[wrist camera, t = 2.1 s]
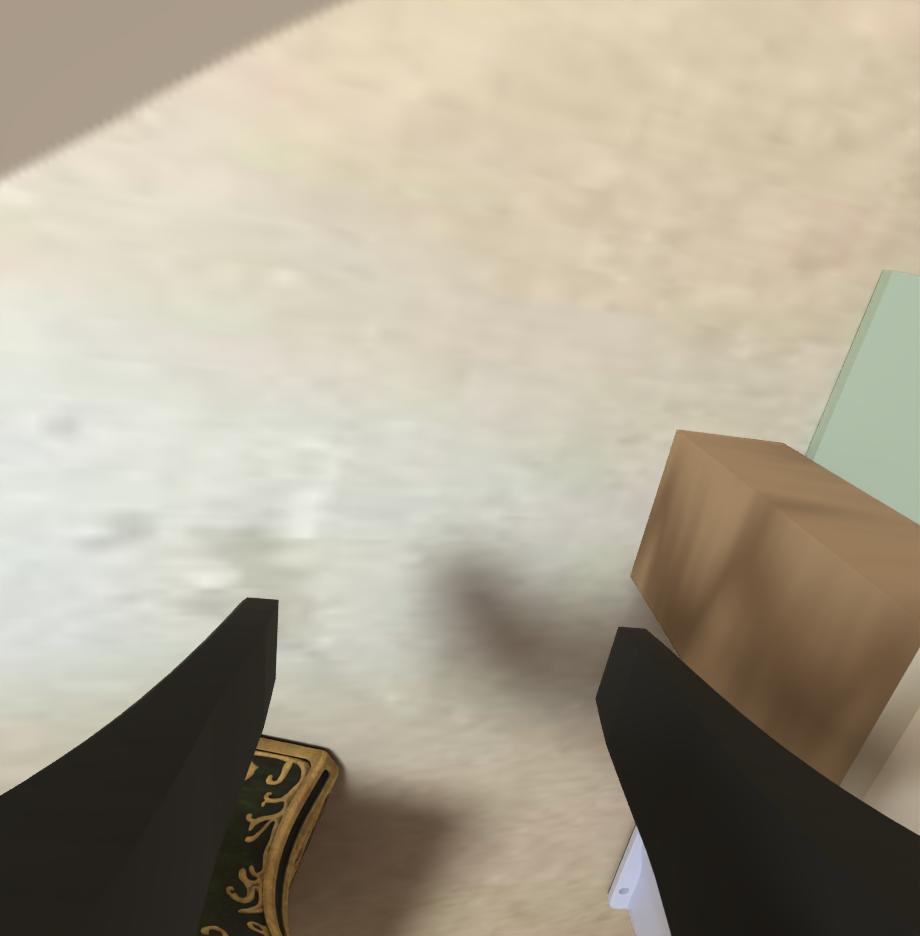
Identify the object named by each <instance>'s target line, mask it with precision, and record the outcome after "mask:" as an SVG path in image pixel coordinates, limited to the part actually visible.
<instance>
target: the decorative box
mask: <svg viewBox="0 0 920 936" xmlns="http://www.w3.org/2000/svg"><path fill="white" fill-rule="evenodd" d="M338 771H339V768H338V766H337V765H336V763H335V762H334V761H333V760H332V758H331V757H330V756H329V754H328V753H327V752H326V751H323V750H319V749H314V748H309V747H304V746H300V745H295V744H290V743H285V742H280V741H275V740H271V739H266V738H261V737H260V739H259V742H258V745H257V748H256V751H255V753H254V756H253V759H252V762H251V765H250V767H249V770H248V773H247V776H246V778H245V781H244V784H243V786H242V789H241V792H240V795H239V797H238V800H237V803H236V806H235V808H234V811H233V814H232V817H231V819H230V822H229V825H228V828H227V830H226V833H225V836H224V839H223V841H222V844H221V848H220V851H219V854H218V857H217V860H216V863H215V866H214V869H213V873H212V877H211V880H210V884H209V888H208V892H207V895H206V899H205V903H204V907H203V910H202V914H201V918H200V921H199V925H198V929H197V933H196V936H290V932H289V927H288V918H287V901H288V892H289V890H290V887H291V885H292V883H293V880H294V878H295V875H296V873H297V871H298V868H299V866H300V864H301V861H302V859H303V857H304V854H305V852H306V850H307V847H308V845H309V843H310V840H311V838H312V835H313V833H314V831H315V828H316V826H317V824H318V821H319V819H320V817H321V814H322V812H323V810H324V807H325V805H326V803H327V800H328V798H329V795H330V793H331V791H332V788H333V786H334V784H335V781H336V779H337V777H338Z"/></svg>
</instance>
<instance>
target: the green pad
mask: <svg viewBox="0 0 920 936" xmlns="http://www.w3.org/2000/svg"><path fill="white" fill-rule="evenodd" d="M806 457H807V458H809V459H811V460H812V461H814V462H816V463H817V464H819V465H821V466H822V467H824V468H826V469H827V470H829V471H831V472H832V473H834V474H836V475H837V476H839V477H841V478H842V479H844V480H846V481H847V482H849V483H851V484H852V485H854V486H856V487H857V488H859V489H861V490H862V491H864V492H866V493H867V494H869V495H870V496H872V497H874V498H875V499H877V500H879V501H880V502H882V503H884V504H885V505H887V506H889V507H890V508H892V509H894V510H895V511H897V512H899V513H900V514H902V515H904V516H905V517H907V518H909V519H910V520H912V521H914V522H915V523H917V524H919V525H920V276H919V275H913V274H907V273H902V272H896V271H888V270H883V272H882V275H881V277H880V279H879V282H878V284H877V287H876V289H875V291H874V294H873V296H872V298H871V301H870V303H869V306H868V308H867V310H866V313H865V315H864V318H863V320H862V322H861V325H860V327H859V330H858V332H857V334H856V337H855V339H854V342H853V344H852V346H851V349H850V351H849V354H848V356H847V358H846V361H845V363H844V366H843V368H842V370H841V373H840V375H839V378H838V380H837V382H836V385H835V387H834V390H833V392H832V394H831V397H830V399H829V402H828V404H827V406H826V409H825V411H824V414H823V416H822V418H821V421H820V423H819V426H818V428H817V430H816V433H815V435H814V438H813V440H812V442H811V445H810V447H809V450H808V452H807V454H806Z"/></svg>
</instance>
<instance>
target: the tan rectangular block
mask: <svg viewBox="0 0 920 936" xmlns="http://www.w3.org/2000/svg"><path fill="white" fill-rule="evenodd" d="M631 578H632V580H633V581H634V583H635V584H636V586H637V588H638V589H639V591H640V593H641V594H642V596H643V598H644V599H645V601H646V602H647V604H648V606H649V607H650V609H651V611H652V612H653V614H654V615H655V617H656V619H657V620H658V622H659V624H660V625H661V627H662V629H663V630H664V632H665V633H666V635H667V637H668V638H669V640H670V642H671V643H672V645H673V646H674V648H675V650H676V651H677V653H678V655H679V656H680V658H681V660H682V661H683V662H684V663H685V664H686V665H687V666H688V667H689V668H691V669H692V670H693V671H694V672H695V673H696V674H697V675H698V676H699V677H701V678H702V679H703V680H704V681H705V682H706V683H707V684H708V685H709V686H711V687H712V688H713V689H714V690H715V691H716V692H717V693H719V694H720V695H721V696H722V697H723V698H724V699H725V700H727V701H728V702H729V703H730V704H731V705H732V706H734V707H735V708H736V709H737V710H738V711H740V712H741V713H742V714H743V715H744V716H745V717H747V718H748V719H749V720H750V721H752V722H753V723H754V724H755V725H757V726H758V727H759V728H760V729H762V730H763V731H764V732H765V733H767V734H768V735H769V736H770V737H771V738H773V739H774V740H775V741H777V742H778V743H779V744H781V745H782V746H783V747H785V748H786V749H787V750H789V751H790V752H791V753H793V754H794V755H795V756H797V757H798V758H800V759H801V760H802V761H804V762H805V763H807V764H808V765H809V766H811V767H812V768H814V769H815V770H816V771H818V772H819V773H821V774H822V775H823V776H825V777H826V778H828V779H829V780H831V781H832V782H834V783H835V784H837V785H838V786H840V787H841V788H843V789H844V790H846V791H847V792H849V793H850V794H852V795H854V796H855V797H857V798H858V799H860V800H862V801H863V802H865V803H866V804H868V805H869V806H871V807H873V808H874V809H876V810H877V811H879V812H881V813H882V814H884V815H885V816H887V817H889V818H890V819H892V820H894V821H895V822H897V823H899V824H901V825H902V826H904V827H906V828H907V829H909V830H911V831H913V832H914V833H916V834H918V835H920V525H919V524H917V523H915V522H914V521H912V520H910V519H909V518H907V517H905V516H904V515H902V514H900V513H899V512H897V511H895V510H894V509H892V508H890V507H889V506H887V505H885V504H884V503H882V502H880V501H879V500H877V499H875V498H874V497H872V496H870V495H869V494H867V493H866V492H864V491H862V490H861V489H859V488H857V487H856V486H854V485H852V484H851V483H849V482H847V481H846V480H844V479H842V478H841V477H839V476H837V475H836V474H834V473H832V472H831V471H829V470H827V469H826V468H824V467H822V466H821V465H819V464H817V463H816V462H814V461H812V460H811V459H809V458H807V457H806V456H804V455H802V454H801V453H799V452H797V451H796V450H794V449H792V448H791V447H789V446H787V445H786V444H784V443H778V442H771V441H763V440H755V439H747V438H739V437H732V436H724V435H716V434H708V433H700V432H692V431H685V430H677V431H676V434H675V437H674V441H673V444H672V447H671V450H670V453H669V456H668V459H667V463H666V466H665V469H664V472H663V475H662V478H661V481H660V485H659V488H658V491H657V494H656V497H655V500H654V504H653V507H652V510H651V513H650V516H649V519H648V522H647V526H646V529H645V532H644V535H643V538H642V541H641V544H640V548H639V551H638V554H637V557H636V560H635V563H634V567H633V570H632V573H631Z"/></svg>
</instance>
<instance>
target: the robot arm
mask: <svg viewBox="0 0 920 936" xmlns="http://www.w3.org/2000/svg"><path fill="white" fill-rule="evenodd" d="M278 601H279V600H273V599H261V598H248V597H247V598H246V599H245V600H243V601H242V602H241V603H240V604H239V605H238V606H237V607H236V608H235V609H234V610H233V612H232V613H231V614H230V615H229V616H228V617H227V618H226V619H225V620H224V621H223V622H222V623H221V624H220V625H219V626H218V627H217V628H216V629H215V630H214V631H213V632H212V633H211V634H210V635H209V637H208V638H207V639H206V640H205V641H204V642H203V643H201V644H200V645H199V646H198V647H197V648H196V649H195V650H194V651H193V652H192V653H191V654H190V655H189V656H188V657H187V658H186V659H185V660H184V661H183V662H182V663H180V664H179V665H178V666H177V667H176V668H175V669H174V670H173V671H172V672H171V673H170V674H168V675H167V676H166V677H165V678H164V679H163V680H161V681H160V682H159V683H158V684H157V685H156V686H154V687H153V688H152V689H151V690H150V691H149V692H147V693H146V694H145V695H144V696H143V697H142V698H140V699H139V700H138V701H137V702H136V703H134V704H133V705H132V706H131V707H129V708H128V709H127V710H126V711H124V712H123V713H122V714H121V715H119V716H118V717H117V718H115V719H114V720H113V721H111V722H110V723H109V724H107V725H106V726H105V727H103V728H102V729H101V730H99V731H98V732H97V733H95V734H94V735H93V736H91V737H90V738H88V739H87V740H86V741H84V742H83V743H81V744H80V745H78V746H77V747H76V748H74V749H73V750H71V751H70V752H68V753H67V754H65V755H64V756H62V757H61V758H59V759H58V760H56V761H55V762H53V763H52V764H50V765H49V766H47V767H46V768H44V769H42V770H41V771H39V772H38V773H36V774H35V775H33V776H32V777H30V778H29V779H27V780H26V781H24V782H22V783H21V784H19V785H17V786H16V787H14V788H12V789H11V790H9V791H7V792H6V793H4V794H2V795H0V936H196V933H197V929H198V925H199V921H200V918H201V914H202V910H203V907H204V903H205V899H206V895H207V892H208V888H209V884H210V880H211V877H212V873H213V869H214V866H215V863H216V860H217V857H218V854H219V851H220V848H221V844H222V841H223V839H224V836H225V833H226V830H227V828H228V825H229V822H230V819H231V817H232V814H233V811H234V808H235V806H236V803H237V800H238V797H239V795H240V792H241V789H242V786H243V784H244V781H245V778H246V776H247V773H248V770H249V767H250V765H251V762H252V759H253V756H254V753H255V751H256V748H257V745H258V742H259V739H260V737H261V734H262V731H263V728H264V724H265V720H266V716H267V712H268V708H269V704H270V700H271V696H272V692H273V687H274V683H275V679H276V653H277V627H278ZM596 703H597V707H598V712H599V716H600V721H601V725H602V729H603V733H604V737H605V741H606V745H607V748H608V751H609V753H610V756H611V759H612V762H613V764H614V767H615V770H616V773H617V775H618V778H619V781H620V783H621V786H622V789H623V791H624V794H625V797H626V799H627V802H628V805H629V807H630V810H631V812H632V815H633V818H634V820H635V823H636V826H635V829H634V831H633V834H632V836H631V839H630V841H629V844H628V846H627V849H626V851H625V854H624V856H623V859H622V861H621V864H620V866H619V869H618V871H617V874H616V876H615V879H614V881H613V884H612V886H611V889H610V891H609V894H608V896H607V899H608V902H609V905H610V907H612V908H614V909H628V912H629V915H630V919H631V922H632V925H633V928H634V931H635V935H636V936H920V835H918V834H916V833H914V832H913V831H911V830H909V829H907V828H906V827H904V826H902V825H901V824H899V823H897V822H895V821H894V820H892V819H890V818H889V817H887V816H885V815H884V814H882V813H881V812H879V811H877V810H876V809H874V808H873V807H871V806H869V805H868V804H866V803H865V802H863V801H862V800H860V799H858V798H857V797H855V796H854V795H852V794H850V793H849V792H847V791H846V790H844V789H843V788H841V787H840V786H838V785H837V784H835V783H834V782H832V781H831V780H829V779H828V778H826V777H825V776H823V775H822V774H821V773H819V772H818V771H816V770H815V769H814V768H812V767H811V766H809V765H808V764H807V763H805V762H804V761H802V760H801V759H800V758H798V757H797V756H795V755H794V754H793V753H791V752H790V751H789V750H787V749H786V748H785V747H783V746H782V745H781V744H779V743H778V742H777V741H775V740H774V739H773V738H771V737H770V736H769V735H768V734H767V733H765V732H764V731H763V730H762V729H760V728H759V727H758V726H757V725H755V724H754V723H753V722H752V721H750V720H749V719H748V718H747V717H745V716H744V715H743V714H742V713H741V712H740V711H738V710H737V709H736V708H735V707H734V706H732V705H731V704H730V703H729V702H728V701H727V700H725V699H724V698H723V697H722V696H721V695H720V694H719V693H717V692H716V691H715V690H714V689H713V688H712V687H711V686H709V685H708V684H707V683H706V682H705V681H704V680H703V679H702V678H701V677H699V676H698V675H697V674H696V673H695V672H694V671H693V670H692V669H691V668H689V667H688V666H687V665H686V664H685V663H684V662H683V661H682V660H681V659H680V658H678V657H677V656H676V655H675V654H674V653H673V652H672V651H671V650H670V649H668V648H667V647H666V646H665V645H664V644H663V643H662V642H661V641H659V640H658V639H657V638H656V637H655V636H653V635H652V634H651V633H650V632H649V631H647V630H646V629H641V628H628V627H618V630H617V633H616V636H615V640H614V643H613V646H612V649H611V652H610V655H609V658H608V661H607V664H606V668H605V671H604V674H603V677H602V680H601V683H600V686H599V689H598V692H597V696H596Z"/></svg>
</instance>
